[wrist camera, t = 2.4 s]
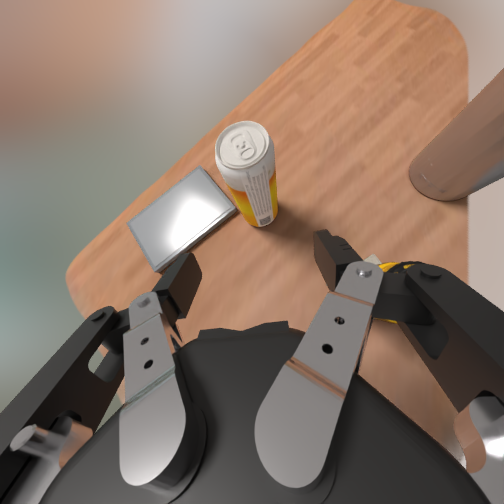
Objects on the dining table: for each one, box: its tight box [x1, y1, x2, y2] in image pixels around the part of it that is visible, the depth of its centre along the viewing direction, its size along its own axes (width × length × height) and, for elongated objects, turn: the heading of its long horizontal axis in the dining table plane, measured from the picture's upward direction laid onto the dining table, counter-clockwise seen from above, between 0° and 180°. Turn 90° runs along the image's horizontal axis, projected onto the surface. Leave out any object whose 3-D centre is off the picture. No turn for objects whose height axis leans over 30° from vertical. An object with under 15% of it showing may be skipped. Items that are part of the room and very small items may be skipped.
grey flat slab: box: [127, 165, 237, 273], centre depth 33 cm, size 18×12×1 cm, turn 128°
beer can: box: [215, 121, 278, 227], centre depth 24 cm, size 6×6×15 cm
